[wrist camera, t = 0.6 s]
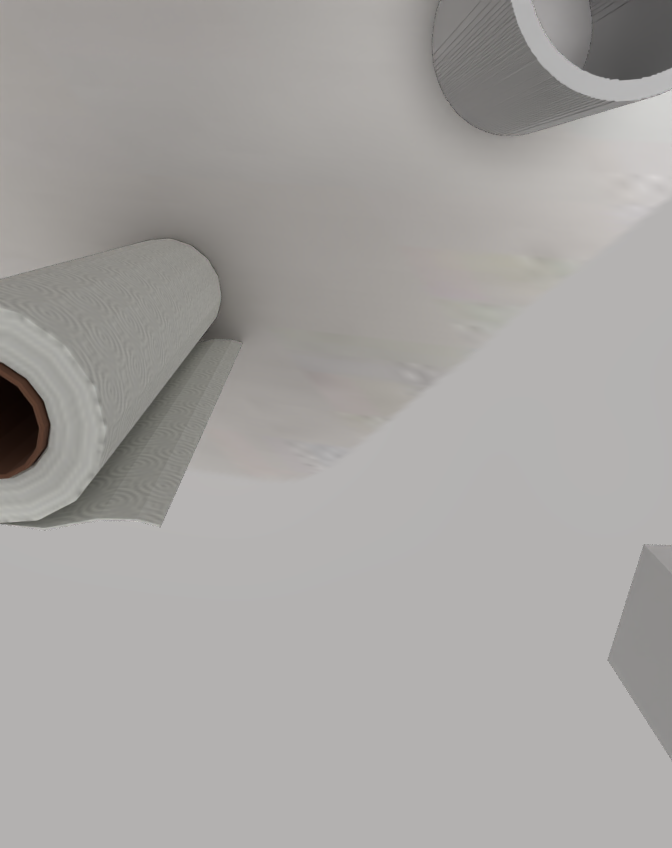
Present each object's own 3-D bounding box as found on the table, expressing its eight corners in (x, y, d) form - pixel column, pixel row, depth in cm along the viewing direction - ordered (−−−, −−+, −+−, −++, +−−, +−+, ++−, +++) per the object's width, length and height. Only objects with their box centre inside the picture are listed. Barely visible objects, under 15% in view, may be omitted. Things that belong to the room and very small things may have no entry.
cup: (433, 141, 31) (502, 110, 20) (431, -64, 28) (513, -236, 17) (595, 129, 32) (752, 91, 20) (613, -77, 28) (813, -255, 17)
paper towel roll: (101, 255, 33) (-215, 341, 13) (200, 224, 32) (32, 264, 13) (150, 370, 35) (-49, 589, 16) (243, 343, 35) (160, 531, 15)
